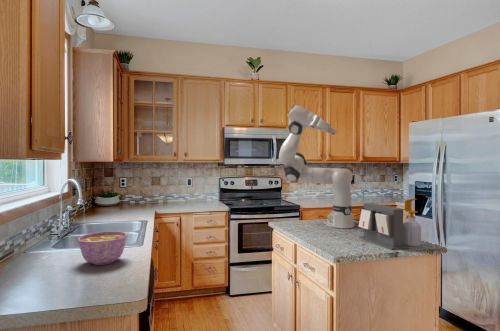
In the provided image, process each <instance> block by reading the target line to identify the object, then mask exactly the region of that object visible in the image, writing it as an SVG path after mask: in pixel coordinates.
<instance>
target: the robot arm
mask: <svg viewBox="0 0 500 331" xmlns="http://www.w3.org/2000/svg"><path fill="white" fill-rule="evenodd" d="M286 116H287V118H288V130H289V132H290V133H289V135H288V136H287V137H286V139H285V140H284V141H283V143H282V144H281V146H280V149H279V153H278V161H279V163H280V164H281V165H284V168H283V171H284V176H285V178H286V179H287V180H288V181H290V182H297V181H298V180H300V181H301V182H305V183H310V184H319V185H320V184H321V185H332V187H333V205H332V210H331V212H329V213H328V214H327V216H326V220H325V221H323V224H324V225H325V226H327V227H329V228H337V229H352V228H354V227H355V226H356V224H355V223H354V214H353V213H352V211H353V207H352V193H351V185H350V183H351V182H352V180H353V177H354V176H353V172H352V171H351V170H350V169H348V168H343V167H342V168H341V167H340V168H339V167H335V168H333V167H309V166H307V163H308V162H307V161H306V157H305V156H304V154H303V153H300V152H298V149H299V145H300V144H299V143H300V141H301V136H302V134H303V132H304V130H305V129H306V128H308V129H311V130H312V131H314V129H315V130H319V131H321V132H323V133H325V134H326V133H328V134H331V135H333V136H335V135H336V134H337V132H338V131H337V130H336V129H334V128H333V127H331V124H330V123H328V122H327V121H326V120H324V119H323V118H321V116H320V115H319V114H317V113H314V112H312V111H309V110H308V109H306V108H305V107H302V106H300V105H297V104H294V105H292V106H291V108H289V110H288V112H287V115H286Z"/></svg>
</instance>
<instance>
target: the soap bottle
mask: <svg viewBox="0 0 500 331" xmlns="http://www.w3.org/2000/svg"><path fill="white" fill-rule="evenodd" d="M416 200H417V198H408V199H406V200H404V211H405V212H408V214H409V215H408V216H407V220H406V221H403V245H406V246H408V247H420V246H421V245H422V226H421V224H420V223H419V222H417V221H416V216H415V213H418V211H416V210H413V209H412V201H416Z"/></svg>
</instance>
